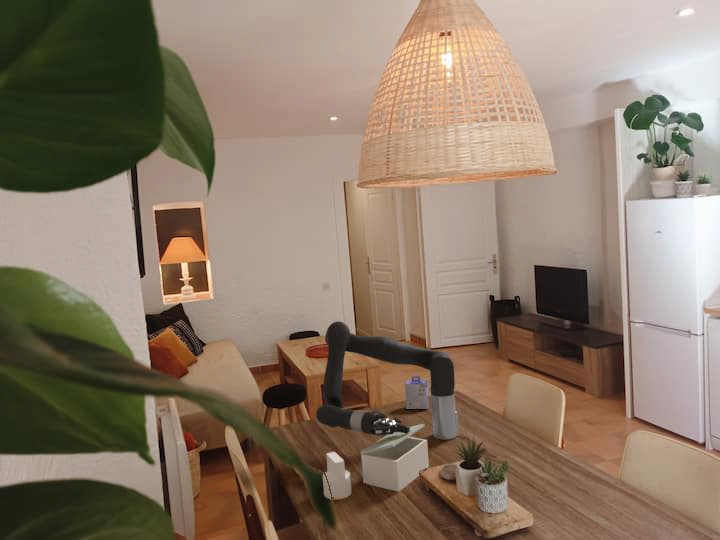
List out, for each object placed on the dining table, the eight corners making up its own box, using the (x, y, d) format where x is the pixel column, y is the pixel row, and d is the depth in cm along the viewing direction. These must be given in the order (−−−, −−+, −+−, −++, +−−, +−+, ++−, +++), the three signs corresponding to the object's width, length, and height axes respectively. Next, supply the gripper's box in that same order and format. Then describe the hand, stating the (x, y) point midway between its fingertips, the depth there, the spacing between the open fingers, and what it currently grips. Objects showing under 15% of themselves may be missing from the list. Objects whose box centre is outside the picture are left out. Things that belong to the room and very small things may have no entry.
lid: (360, 454, 196) (360, 451, 196) (393, 433, 212) (392, 430, 212) (393, 447, 188) (392, 444, 188) (424, 425, 204) (423, 423, 204)
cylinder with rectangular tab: (320, 490, 194) (317, 455, 193) (345, 484, 197) (342, 449, 196) (329, 502, 185) (326, 465, 184) (355, 494, 189) (353, 458, 188)
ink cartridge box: (429, 406, 270) (427, 375, 269) (428, 410, 265) (426, 378, 264) (407, 406, 272) (405, 375, 271) (406, 410, 267) (404, 379, 266)
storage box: (363, 483, 197) (361, 454, 196) (394, 460, 213) (393, 433, 212) (398, 491, 189) (396, 461, 188) (428, 467, 205) (427, 440, 204)
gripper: (354, 417, 200) (397, 425, 190) (375, 406, 211) (417, 412, 201) (355, 439, 201) (399, 447, 191) (377, 426, 212) (419, 433, 201)
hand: (408, 429), depth 196 cm, fingers closed
